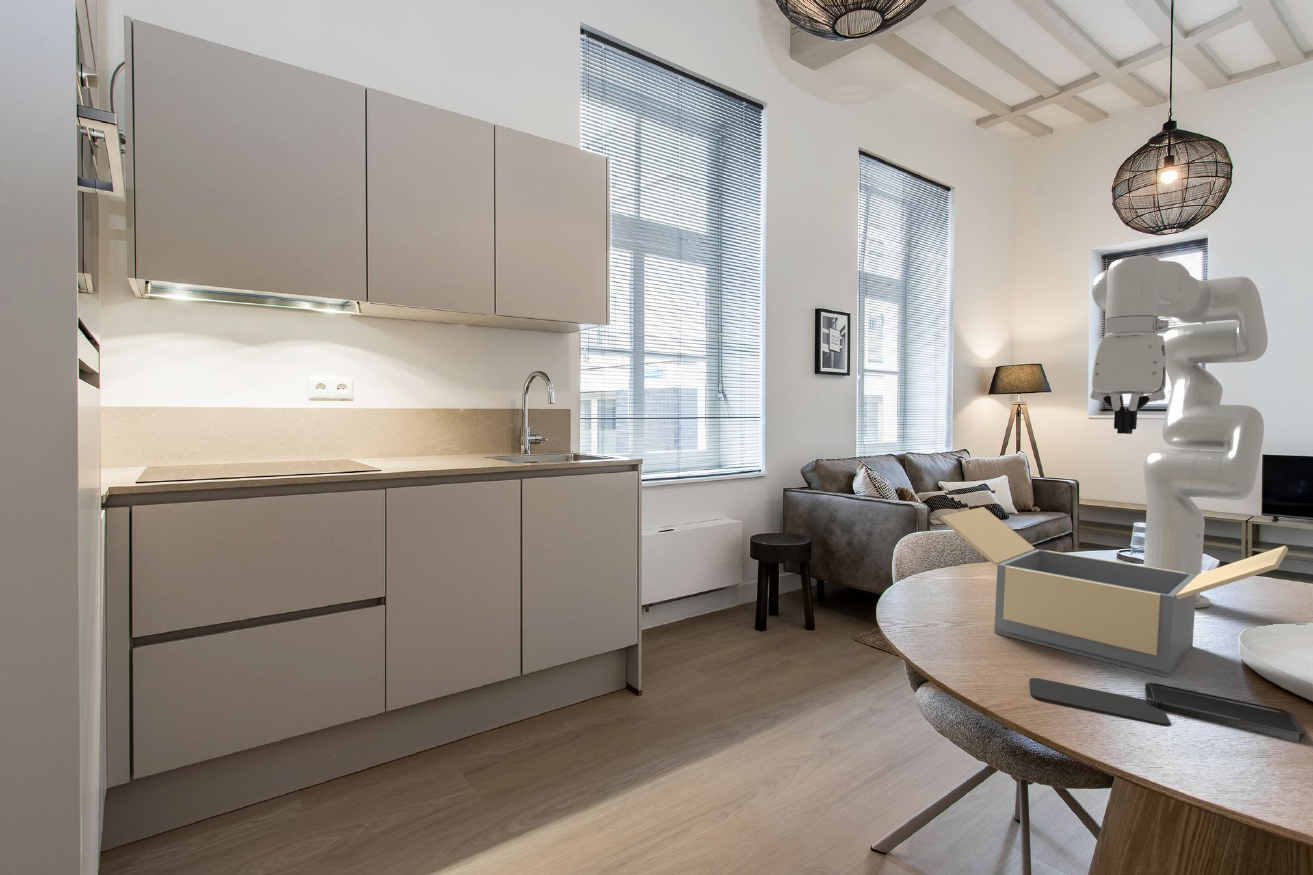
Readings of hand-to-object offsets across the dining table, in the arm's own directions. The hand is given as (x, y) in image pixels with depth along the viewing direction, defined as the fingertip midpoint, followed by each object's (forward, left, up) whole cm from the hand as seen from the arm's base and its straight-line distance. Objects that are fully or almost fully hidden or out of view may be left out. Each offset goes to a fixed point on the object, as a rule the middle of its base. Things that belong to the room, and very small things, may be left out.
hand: (1124, 433), depth 114 cm
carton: (+10, -1, -35) cm, 37 cm away
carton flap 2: (+10, +16, -20) cm, 27 cm away
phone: (+38, +6, -36) cm, 52 cm away
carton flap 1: (+10, -18, -19) cm, 28 cm away
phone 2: (+29, +18, -36) cm, 49 cm away
